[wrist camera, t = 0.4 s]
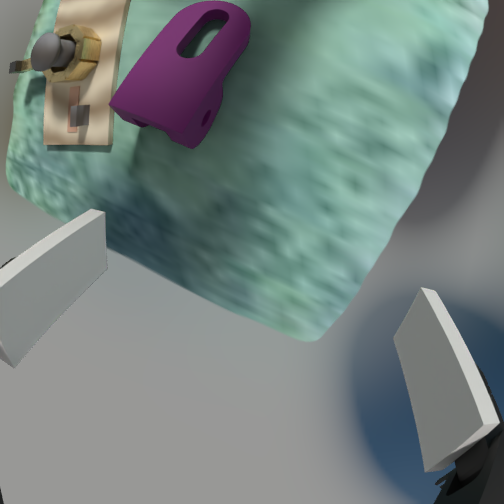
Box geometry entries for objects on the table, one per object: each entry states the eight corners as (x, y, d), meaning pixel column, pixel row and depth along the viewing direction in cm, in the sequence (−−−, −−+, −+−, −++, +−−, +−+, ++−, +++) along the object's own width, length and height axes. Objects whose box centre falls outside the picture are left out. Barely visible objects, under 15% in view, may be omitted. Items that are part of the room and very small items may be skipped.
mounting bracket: (201, 30, 34) (132, 129, 34) (195, -6, 25) (107, 104, 26) (259, 51, 34) (193, 156, 35) (265, 14, 26) (181, 134, 26)
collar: (104, 25, 28) (85, 19, 24) (96, 78, 32) (75, 77, 28) (32, 45, 29) (13, 44, 25) (26, 90, 33) (7, 92, 29)
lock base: (68, -10, 25) (32, -21, 17) (138, -31, 24) (105, -52, 16) (48, 143, 38) (9, 155, 30) (112, 144, 37) (72, 155, 29)
